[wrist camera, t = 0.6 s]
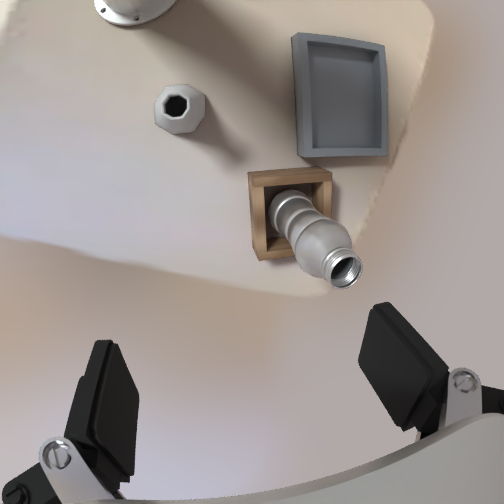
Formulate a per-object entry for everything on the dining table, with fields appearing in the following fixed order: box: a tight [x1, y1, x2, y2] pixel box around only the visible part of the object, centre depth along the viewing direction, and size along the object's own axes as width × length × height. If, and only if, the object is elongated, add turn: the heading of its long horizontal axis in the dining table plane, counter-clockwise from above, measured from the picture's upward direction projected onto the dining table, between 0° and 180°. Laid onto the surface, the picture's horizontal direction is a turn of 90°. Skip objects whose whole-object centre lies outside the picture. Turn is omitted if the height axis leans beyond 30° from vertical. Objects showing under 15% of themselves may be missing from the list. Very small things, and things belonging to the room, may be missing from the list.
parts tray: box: [291, 33, 388, 158], centre depth 37 cm, size 18×14×3 cm
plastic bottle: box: [268, 190, 362, 289], centre depth 36 cm, size 6×7×20 cm
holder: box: [248, 167, 332, 261], centre depth 43 cm, size 12×11×4 cm
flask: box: [154, 84, 206, 134], centre depth 31 cm, size 7×7×10 cm
